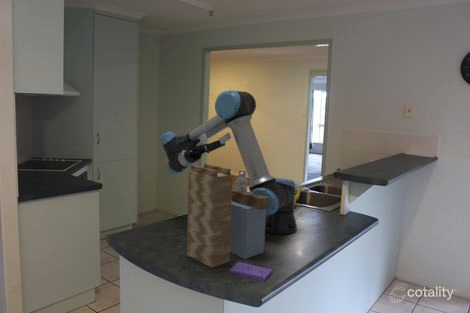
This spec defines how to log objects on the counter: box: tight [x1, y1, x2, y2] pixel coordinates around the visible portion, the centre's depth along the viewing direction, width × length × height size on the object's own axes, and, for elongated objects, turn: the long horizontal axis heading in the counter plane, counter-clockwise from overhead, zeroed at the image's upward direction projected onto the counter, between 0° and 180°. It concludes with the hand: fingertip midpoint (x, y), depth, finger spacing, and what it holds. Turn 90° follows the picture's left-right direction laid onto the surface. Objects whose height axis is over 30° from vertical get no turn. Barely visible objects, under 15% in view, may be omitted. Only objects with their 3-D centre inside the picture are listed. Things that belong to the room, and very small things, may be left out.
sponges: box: [229, 261, 273, 282], centre depth 126 cm, size 7×13×2 cm, turn 63°
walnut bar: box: [232, 187, 269, 210], centre depth 144 cm, size 24×4×4 cm, turn 45°
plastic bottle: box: [235, 170, 249, 192], centre depth 202 cm, size 6×7×20 cm
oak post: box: [186, 163, 234, 269], centre depth 134 cm, size 14×8×33 cm, turn 44°
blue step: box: [230, 202, 266, 260], centre depth 143 cm, size 10×10×18 cm
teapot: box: [294, 186, 304, 206], centre depth 209 cm, size 14×14×12 cm
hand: (217, 135), depth 159 cm, fingers open, 13 cm apart
